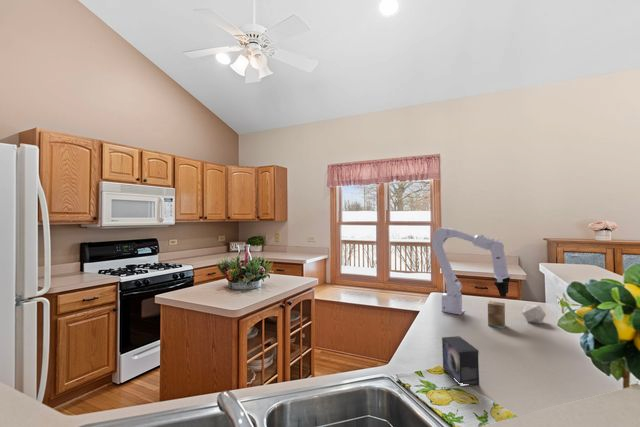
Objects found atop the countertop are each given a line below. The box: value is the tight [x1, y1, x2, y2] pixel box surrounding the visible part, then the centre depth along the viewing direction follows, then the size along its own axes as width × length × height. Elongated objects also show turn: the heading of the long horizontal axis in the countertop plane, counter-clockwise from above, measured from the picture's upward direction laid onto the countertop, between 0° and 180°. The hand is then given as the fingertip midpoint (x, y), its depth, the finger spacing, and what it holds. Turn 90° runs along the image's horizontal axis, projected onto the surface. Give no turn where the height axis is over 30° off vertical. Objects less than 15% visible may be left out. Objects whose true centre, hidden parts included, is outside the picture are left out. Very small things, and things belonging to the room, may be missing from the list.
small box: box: [441, 335, 480, 386], centre depth 91 cm, size 11×6×10 cm, turn 5°
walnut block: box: [487, 300, 506, 330], centre depth 132 cm, size 6×5×10 cm
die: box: [521, 303, 547, 325], centre depth 136 cm, size 8×9×10 cm
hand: (504, 294), depth 139 cm, fingers open, 7 cm apart
